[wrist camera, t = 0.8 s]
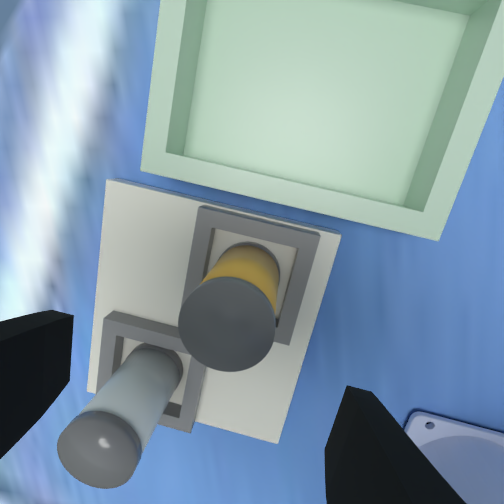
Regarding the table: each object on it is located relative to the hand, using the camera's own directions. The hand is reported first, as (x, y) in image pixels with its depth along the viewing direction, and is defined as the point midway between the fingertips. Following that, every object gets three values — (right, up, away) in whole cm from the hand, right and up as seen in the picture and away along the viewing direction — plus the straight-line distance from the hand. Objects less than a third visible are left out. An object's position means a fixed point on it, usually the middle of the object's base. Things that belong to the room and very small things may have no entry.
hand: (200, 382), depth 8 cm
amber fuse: (+1, +2, +8) cm, 9 cm away
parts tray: (+4, +11, +7) cm, 14 cm away
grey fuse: (-4, -3, +10) cm, 12 cm away
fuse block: (-1, 0, +11) cm, 11 cm away
